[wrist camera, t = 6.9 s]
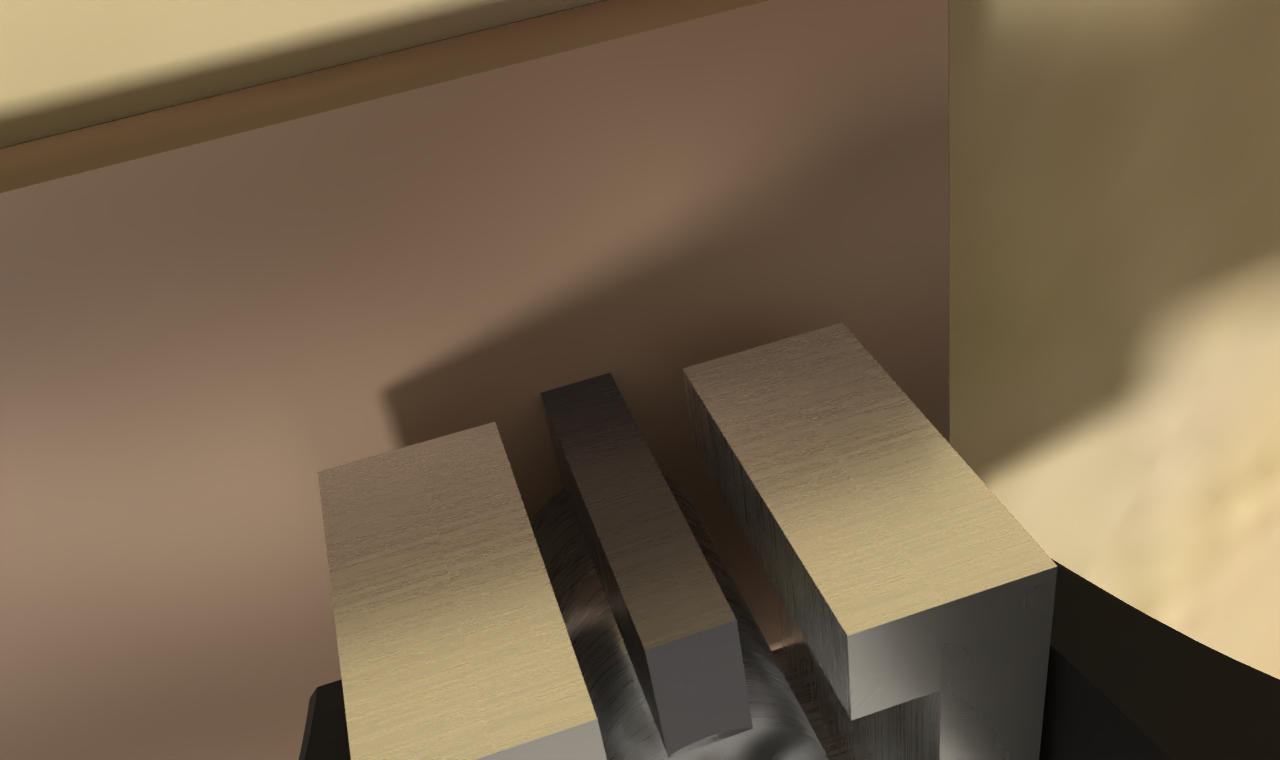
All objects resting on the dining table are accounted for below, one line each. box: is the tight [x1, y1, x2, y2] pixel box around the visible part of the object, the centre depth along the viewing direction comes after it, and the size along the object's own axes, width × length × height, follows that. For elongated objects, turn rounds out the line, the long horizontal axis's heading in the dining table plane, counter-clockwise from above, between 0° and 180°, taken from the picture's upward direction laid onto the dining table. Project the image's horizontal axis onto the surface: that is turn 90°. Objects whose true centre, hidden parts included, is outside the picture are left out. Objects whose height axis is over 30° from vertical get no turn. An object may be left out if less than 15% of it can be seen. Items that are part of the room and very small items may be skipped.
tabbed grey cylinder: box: [530, 373, 829, 760], centre depth 12 cm, size 4×2×4 cm, turn 9°
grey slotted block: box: [318, 323, 1058, 760], centre depth 12 cm, size 6×6×4 cm
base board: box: [0, 0, 949, 760], centre depth 14 cm, size 12×21×1 cm, turn 100°
